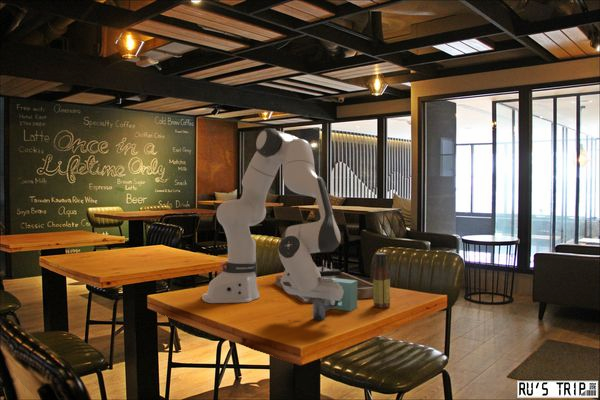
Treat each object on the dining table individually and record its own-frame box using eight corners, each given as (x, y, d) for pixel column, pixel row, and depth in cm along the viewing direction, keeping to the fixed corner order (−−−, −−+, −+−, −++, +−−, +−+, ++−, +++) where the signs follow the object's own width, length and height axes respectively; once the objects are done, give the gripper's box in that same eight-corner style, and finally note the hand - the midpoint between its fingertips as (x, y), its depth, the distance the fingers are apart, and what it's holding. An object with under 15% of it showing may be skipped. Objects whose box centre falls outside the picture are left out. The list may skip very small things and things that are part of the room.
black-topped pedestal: (366, 298, 193) (366, 265, 193) (305, 303, 184) (305, 268, 184) (337, 284, 220) (337, 255, 219) (282, 288, 211) (283, 258, 210)
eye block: (350, 311, 172) (350, 283, 171) (325, 307, 177) (325, 280, 176) (357, 307, 177) (357, 280, 177) (332, 304, 182) (332, 277, 181)
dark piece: (321, 321, 158) (321, 288, 158) (310, 319, 160) (311, 286, 160) (341, 311, 172) (341, 280, 171) (331, 309, 174) (331, 279, 173)
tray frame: (304, 303, 183) (304, 292, 183) (275, 285, 216) (276, 276, 216) (381, 297, 194) (381, 287, 194) (343, 280, 228) (343, 272, 228)
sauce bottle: (388, 304, 183) (389, 252, 182) (391, 308, 176) (392, 254, 176) (371, 304, 182) (371, 252, 182) (374, 308, 176) (374, 254, 176)
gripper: (339, 271, 149) (351, 297, 158) (282, 266, 159) (297, 290, 168) (332, 288, 146) (345, 313, 154) (275, 281, 156) (290, 305, 164)
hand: (319, 301), depth 161 cm, fingers open, 8 cm apart
